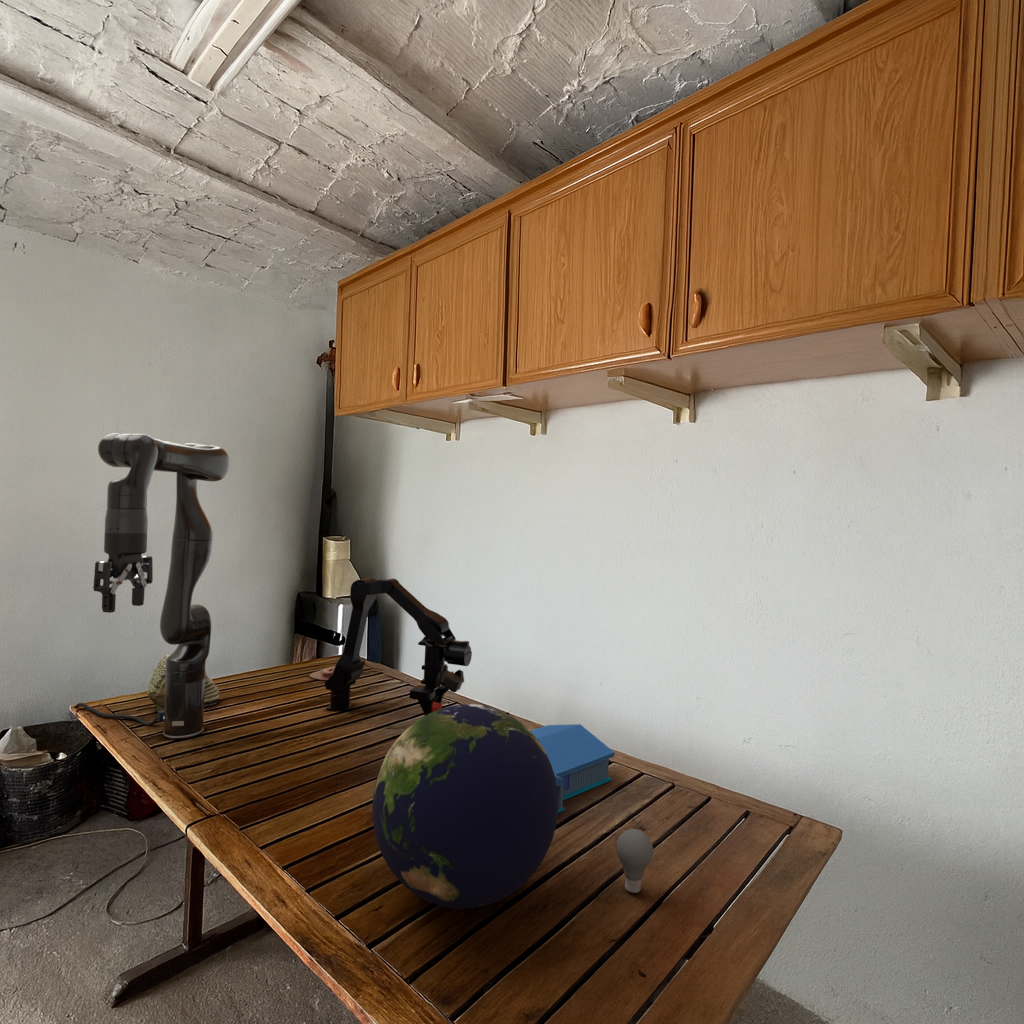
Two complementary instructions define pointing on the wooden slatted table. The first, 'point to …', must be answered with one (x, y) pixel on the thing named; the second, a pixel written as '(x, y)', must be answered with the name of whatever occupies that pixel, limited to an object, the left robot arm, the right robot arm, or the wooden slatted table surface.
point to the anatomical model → (323, 674)
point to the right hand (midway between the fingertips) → (432, 716)
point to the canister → (436, 706)
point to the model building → (574, 758)
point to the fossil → (158, 687)
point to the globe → (465, 806)
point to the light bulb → (634, 857)
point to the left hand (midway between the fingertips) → (123, 608)
